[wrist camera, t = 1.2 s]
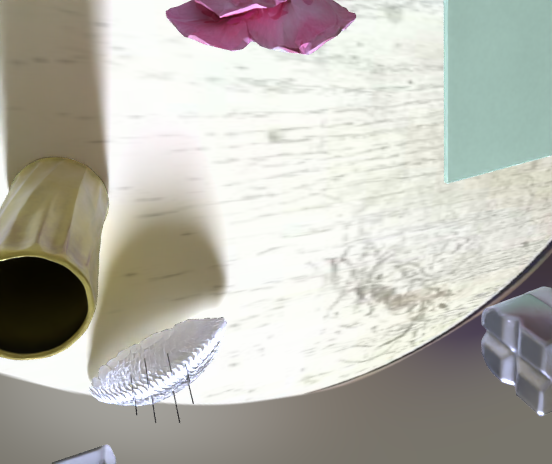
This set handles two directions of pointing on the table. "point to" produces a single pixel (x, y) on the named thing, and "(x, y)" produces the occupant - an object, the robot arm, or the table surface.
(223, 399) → the table surface
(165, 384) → the pincushion
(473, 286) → the table surface
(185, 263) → the table surface
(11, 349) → the vase
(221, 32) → the flower
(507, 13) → the mat
